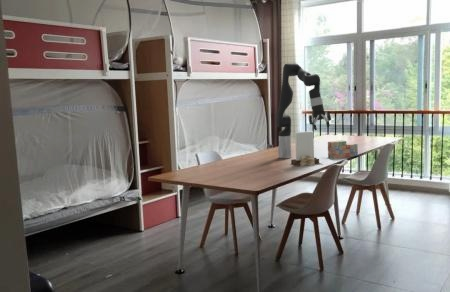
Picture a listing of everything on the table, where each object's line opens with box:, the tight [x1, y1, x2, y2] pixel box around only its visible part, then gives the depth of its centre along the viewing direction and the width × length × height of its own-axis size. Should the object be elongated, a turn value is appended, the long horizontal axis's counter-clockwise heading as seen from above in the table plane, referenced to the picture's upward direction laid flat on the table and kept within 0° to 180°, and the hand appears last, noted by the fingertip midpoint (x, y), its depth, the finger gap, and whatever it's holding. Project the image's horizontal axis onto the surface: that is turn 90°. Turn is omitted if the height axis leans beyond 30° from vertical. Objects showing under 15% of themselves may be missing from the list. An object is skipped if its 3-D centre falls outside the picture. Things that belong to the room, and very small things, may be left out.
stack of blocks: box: [327, 139, 359, 159], centre depth 330 cm, size 21×6×12 cm, turn 101°
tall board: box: [294, 130, 315, 160], centre depth 300 cm, size 12×3×22 cm, turn 99°
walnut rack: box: [290, 157, 324, 168], centre depth 299 cm, size 20×12×4 cm, turn 99°
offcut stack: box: [300, 156, 316, 167], centre depth 295 cm, size 9×5×6 cm, turn 99°
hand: (322, 128), depth 288 cm, fingers open, 8 cm apart
